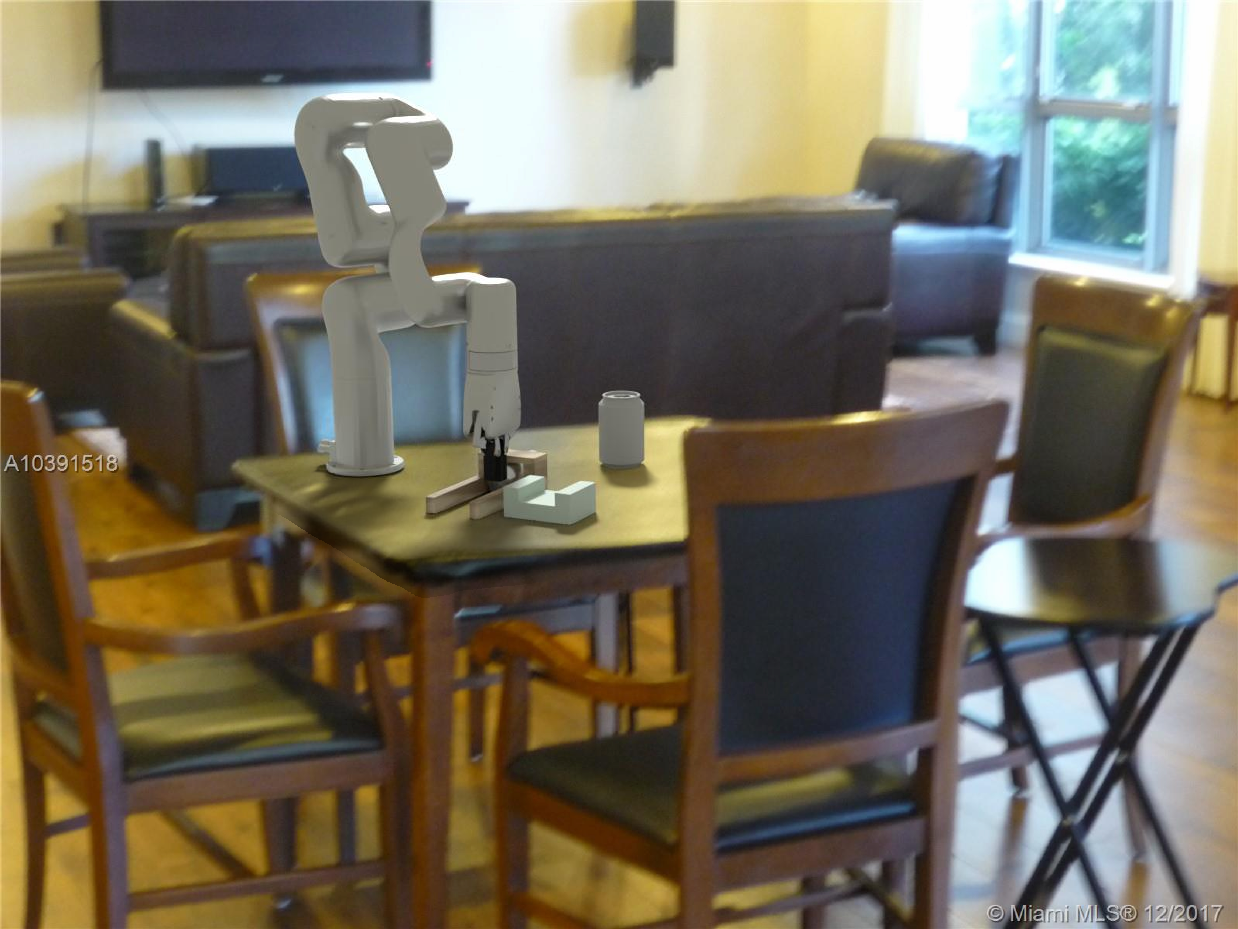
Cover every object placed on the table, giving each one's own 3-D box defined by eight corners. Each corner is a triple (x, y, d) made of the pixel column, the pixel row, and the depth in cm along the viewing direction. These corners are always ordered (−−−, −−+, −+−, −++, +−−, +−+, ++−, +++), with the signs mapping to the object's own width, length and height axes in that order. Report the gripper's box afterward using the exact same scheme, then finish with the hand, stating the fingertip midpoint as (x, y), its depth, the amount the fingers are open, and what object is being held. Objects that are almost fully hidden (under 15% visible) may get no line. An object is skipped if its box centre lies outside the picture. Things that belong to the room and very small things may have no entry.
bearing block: (423, 512, 253) (422, 474, 251) (492, 483, 270) (491, 447, 269) (481, 520, 248) (480, 481, 247) (547, 489, 266) (547, 453, 264)
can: (646, 460, 285) (646, 389, 282) (642, 470, 278) (642, 397, 275) (601, 459, 286) (600, 388, 283) (596, 469, 279) (595, 397, 276)
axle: (513, 490, 262) (505, 463, 262) (489, 496, 264) (481, 469, 264) (549, 474, 272) (541, 447, 272) (526, 479, 275) (518, 453, 274)
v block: (503, 516, 250) (503, 486, 249) (530, 504, 257) (530, 475, 256) (570, 525, 245) (570, 494, 244) (595, 512, 252) (595, 482, 251)
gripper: (496, 352, 265) (499, 467, 269) (444, 367, 252) (448, 488, 256) (538, 355, 261) (541, 472, 266) (488, 371, 248) (491, 493, 253)
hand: (495, 479), depth 261 cm, fingers closed
